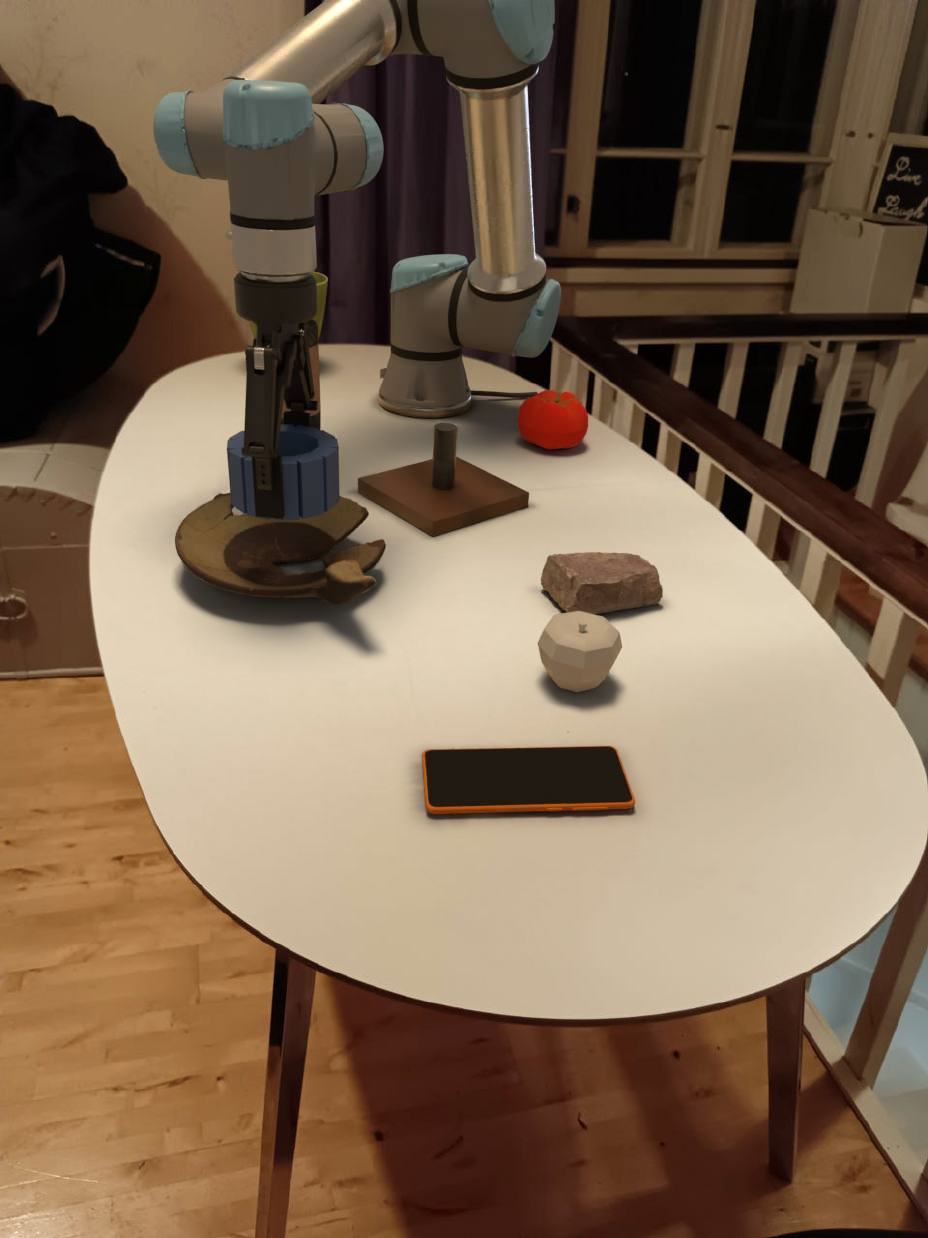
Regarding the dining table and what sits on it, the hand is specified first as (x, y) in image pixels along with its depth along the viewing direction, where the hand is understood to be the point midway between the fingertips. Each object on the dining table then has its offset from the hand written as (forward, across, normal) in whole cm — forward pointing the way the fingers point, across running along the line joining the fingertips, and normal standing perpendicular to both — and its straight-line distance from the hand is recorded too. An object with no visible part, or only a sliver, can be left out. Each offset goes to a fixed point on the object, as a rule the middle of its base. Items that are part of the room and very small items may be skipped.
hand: (285, 492), depth 99 cm
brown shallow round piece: (+11, 0, 0) cm, 11 cm away
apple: (+11, +14, +31) cm, 36 cm away
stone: (+11, -3, +34) cm, 36 cm away
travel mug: (+11, -31, -7) cm, 34 cm away
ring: (+1, 0, 0) cm, 1 cm away
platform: (+11, -26, +14) cm, 31 cm away
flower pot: (+11, -76, -19) cm, 79 cm away
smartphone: (+11, +30, +27) cm, 41 cm away
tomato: (+11, -50, +28) cm, 58 cm away
